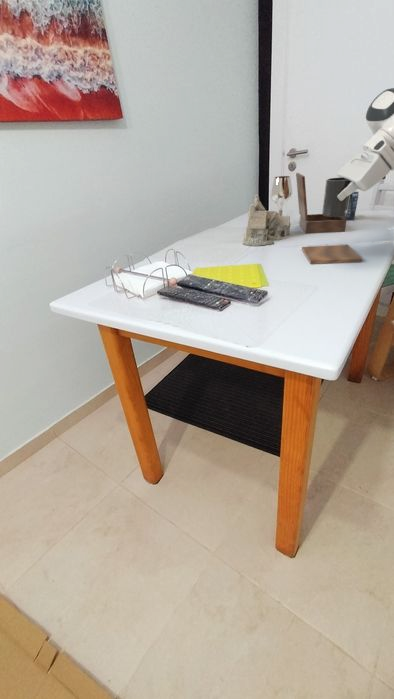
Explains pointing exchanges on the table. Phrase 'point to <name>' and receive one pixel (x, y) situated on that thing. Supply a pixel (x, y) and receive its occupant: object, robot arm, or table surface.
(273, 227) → the ceramic cottage
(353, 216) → the box
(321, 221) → the bread box
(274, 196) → the wineglass
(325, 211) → the dark grey cup
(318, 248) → the board
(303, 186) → the bread box lid
